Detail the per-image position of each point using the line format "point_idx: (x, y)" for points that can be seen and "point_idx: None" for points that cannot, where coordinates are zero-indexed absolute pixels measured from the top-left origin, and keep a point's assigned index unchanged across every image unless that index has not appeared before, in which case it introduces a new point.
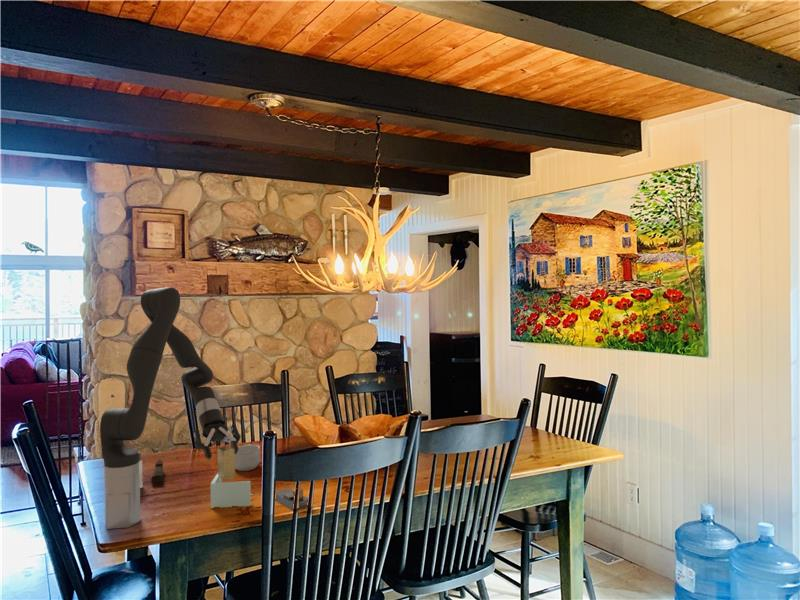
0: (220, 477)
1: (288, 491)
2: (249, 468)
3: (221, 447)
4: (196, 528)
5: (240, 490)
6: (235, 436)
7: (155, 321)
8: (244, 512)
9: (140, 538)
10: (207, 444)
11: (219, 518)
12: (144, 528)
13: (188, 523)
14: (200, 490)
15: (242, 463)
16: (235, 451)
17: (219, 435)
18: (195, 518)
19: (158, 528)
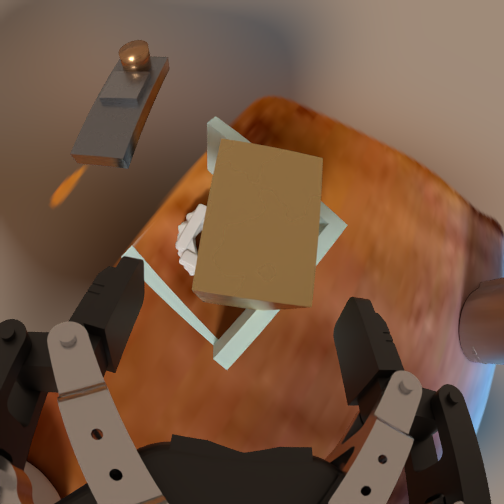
0: (234, 332)
1: (95, 127)
2: (28, 462)
3: (272, 296)
4: (392, 153)
5: None
6: (15, 415)
7: None
8: (259, 136)
9: (474, 208)
10: (393, 385)
11: (331, 156)
12: (465, 252)
13: (398, 194)
14: (244, 445)
15: (38, 483)
16: (142, 260)
17: (220, 476)
18: (377, 209)
19: (448, 226)
